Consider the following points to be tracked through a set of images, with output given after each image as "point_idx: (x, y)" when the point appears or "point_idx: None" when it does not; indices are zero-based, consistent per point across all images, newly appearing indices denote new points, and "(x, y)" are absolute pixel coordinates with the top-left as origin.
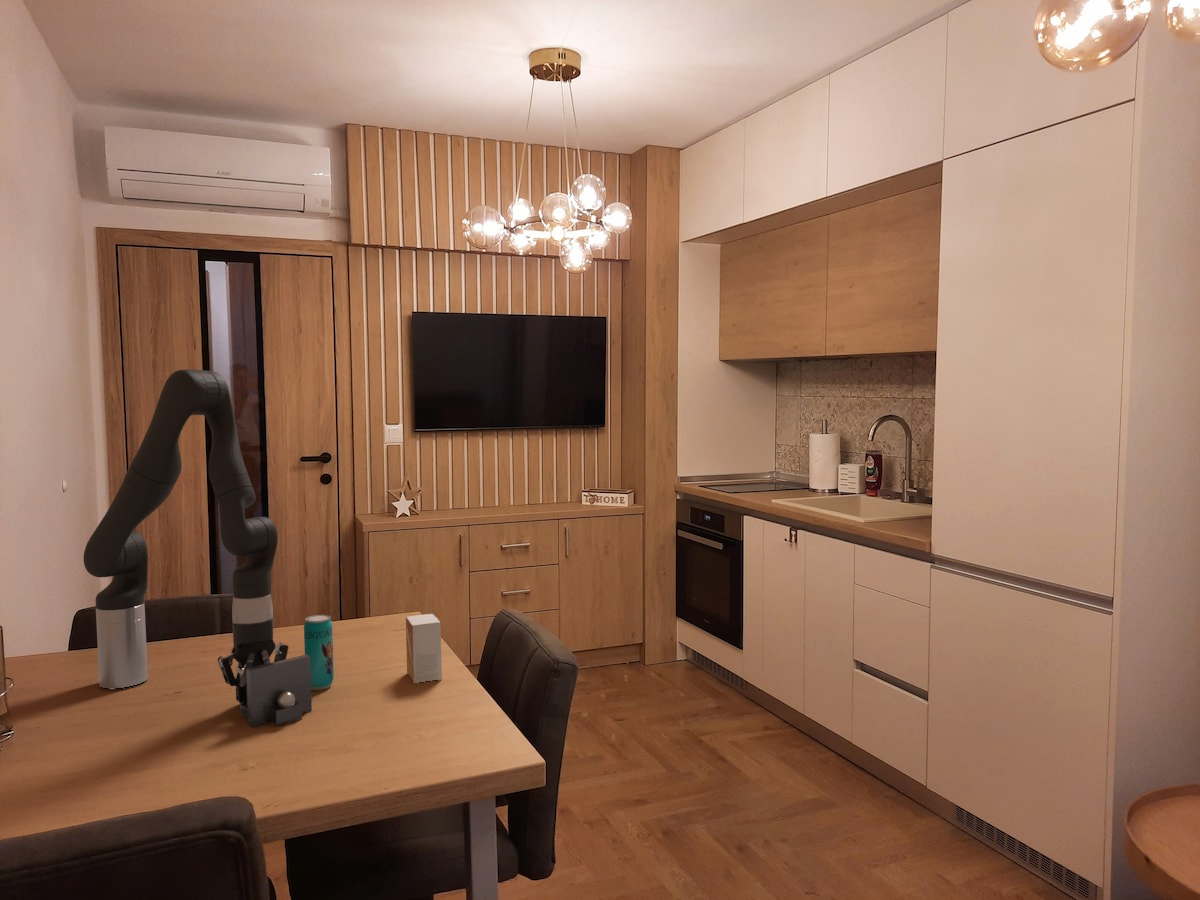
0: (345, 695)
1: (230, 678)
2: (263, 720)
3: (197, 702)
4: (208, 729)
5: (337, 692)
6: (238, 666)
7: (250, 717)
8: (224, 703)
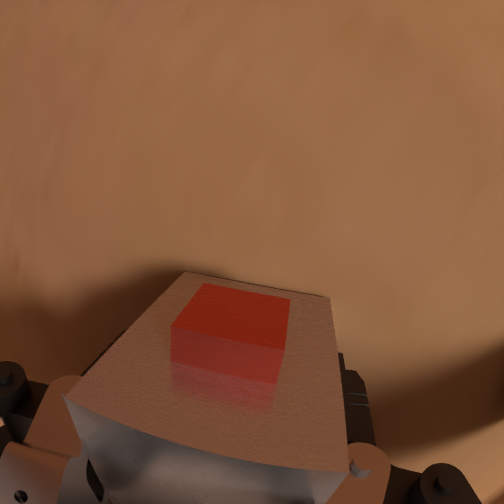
0: (468, 477)
1: (2, 452)
2: None
3: (81, 46)
4: (35, 373)
5: (491, 449)
6: (7, 493)
7: None
8: (142, 171)
